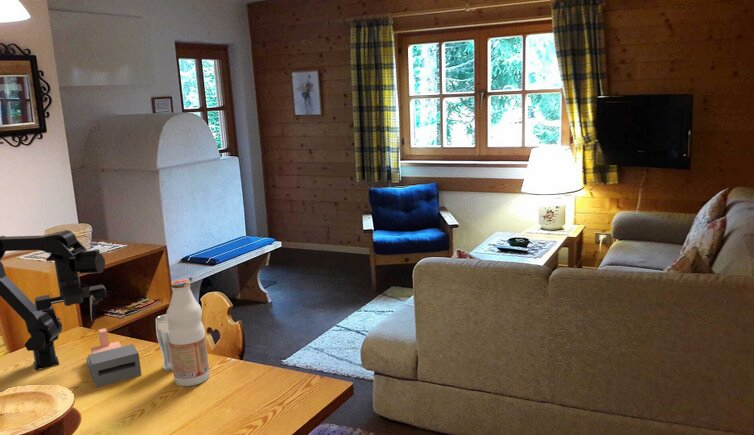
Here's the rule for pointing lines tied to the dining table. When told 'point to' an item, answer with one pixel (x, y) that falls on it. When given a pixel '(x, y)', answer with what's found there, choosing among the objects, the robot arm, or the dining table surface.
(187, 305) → the fruit juice
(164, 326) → the beer glass
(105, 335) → the pink t-shaped block
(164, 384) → the dining table surface
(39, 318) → the robot arm
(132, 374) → the grey slotted box
